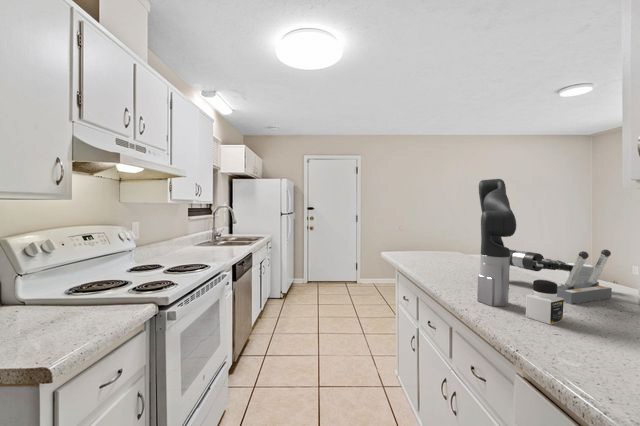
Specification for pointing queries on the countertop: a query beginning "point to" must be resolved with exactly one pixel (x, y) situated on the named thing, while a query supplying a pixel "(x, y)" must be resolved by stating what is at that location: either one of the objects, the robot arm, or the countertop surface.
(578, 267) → the lever
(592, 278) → the lever
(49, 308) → the countertop surface
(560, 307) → the medicine bottle
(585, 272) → the small box
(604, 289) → the switch console
